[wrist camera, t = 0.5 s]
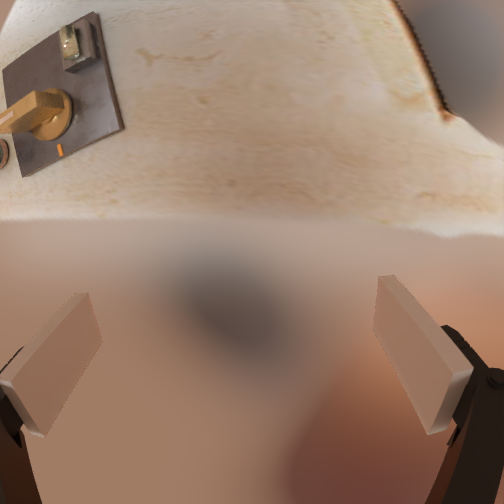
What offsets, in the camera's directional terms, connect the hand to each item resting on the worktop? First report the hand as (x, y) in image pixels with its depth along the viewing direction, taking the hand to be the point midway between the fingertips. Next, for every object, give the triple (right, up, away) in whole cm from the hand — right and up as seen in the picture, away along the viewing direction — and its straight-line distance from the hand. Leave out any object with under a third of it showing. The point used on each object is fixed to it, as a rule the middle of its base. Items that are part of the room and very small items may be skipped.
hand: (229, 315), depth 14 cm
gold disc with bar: (-25, +20, +19) cm, 38 cm away
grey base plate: (-25, +24, +20) cm, 40 cm away
